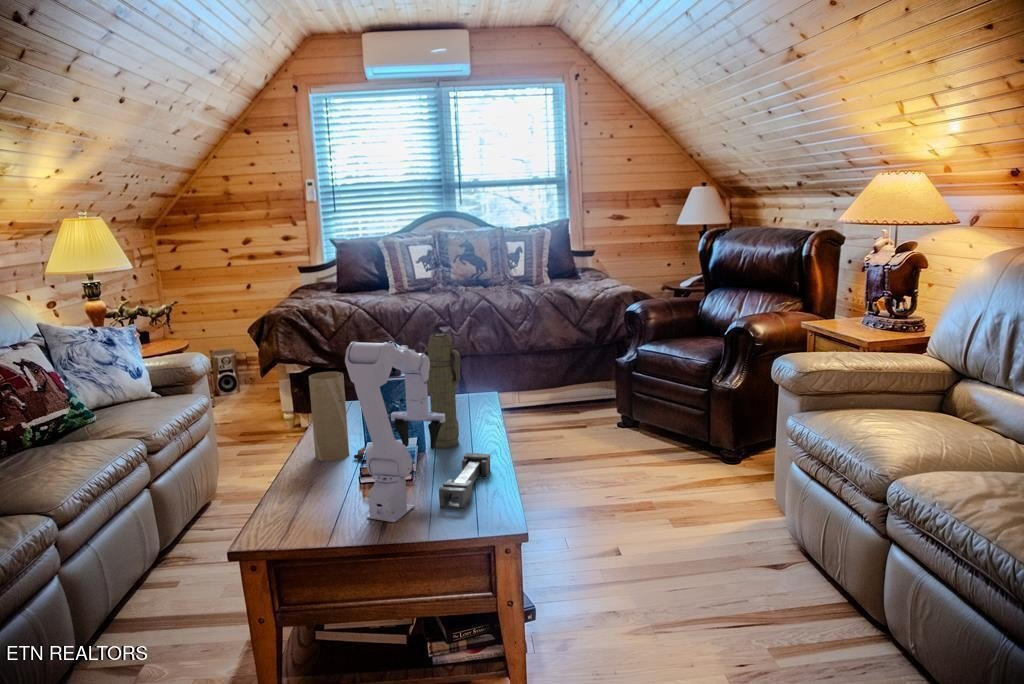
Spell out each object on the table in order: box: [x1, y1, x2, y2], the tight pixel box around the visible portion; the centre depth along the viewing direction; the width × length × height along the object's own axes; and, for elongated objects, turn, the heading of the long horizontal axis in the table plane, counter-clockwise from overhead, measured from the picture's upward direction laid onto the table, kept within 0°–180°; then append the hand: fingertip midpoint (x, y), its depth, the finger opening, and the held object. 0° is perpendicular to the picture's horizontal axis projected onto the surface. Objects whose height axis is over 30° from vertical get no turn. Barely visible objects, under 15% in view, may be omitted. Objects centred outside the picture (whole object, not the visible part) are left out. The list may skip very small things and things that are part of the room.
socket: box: [461, 452, 491, 477], centre depth 197 cm, size 5×7×5 cm
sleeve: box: [438, 478, 474, 510], centre depth 179 cm, size 8×6×5 cm
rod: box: [452, 460, 482, 497], centre depth 189 cm, size 18×3×3 cm, turn 168°
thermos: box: [422, 332, 461, 450], centre depth 220 cm, size 9×12×35 cm
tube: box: [308, 371, 350, 463], centre depth 214 cm, size 10×10×25 cm
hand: (419, 447), depth 190 cm, fingers open, 7 cm apart
